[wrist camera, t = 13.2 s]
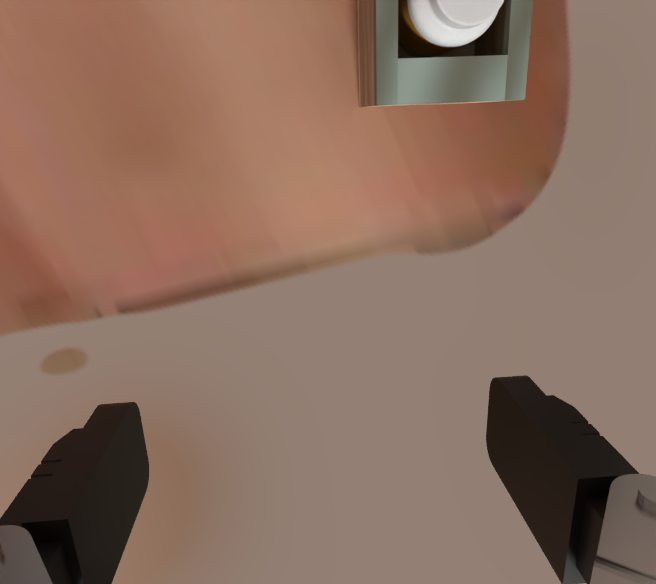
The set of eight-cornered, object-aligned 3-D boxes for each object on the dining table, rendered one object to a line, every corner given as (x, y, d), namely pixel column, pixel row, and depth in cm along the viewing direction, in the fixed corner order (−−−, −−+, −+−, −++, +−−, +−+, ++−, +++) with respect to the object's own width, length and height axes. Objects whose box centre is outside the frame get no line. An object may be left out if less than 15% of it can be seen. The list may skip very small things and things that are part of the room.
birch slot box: (359, 107, 38) (376, 105, 31) (355, -89, 34) (375, -147, 27) (478, 102, 39) (524, 99, 31) (489, -91, 35) (545, -148, 27)
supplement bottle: (442, 71, 37) (492, 58, 28) (374, 38, 36) (403, 12, 27) (478, -7, 36) (543, -48, 26) (408, -44, 35) (450, -101, 25)
